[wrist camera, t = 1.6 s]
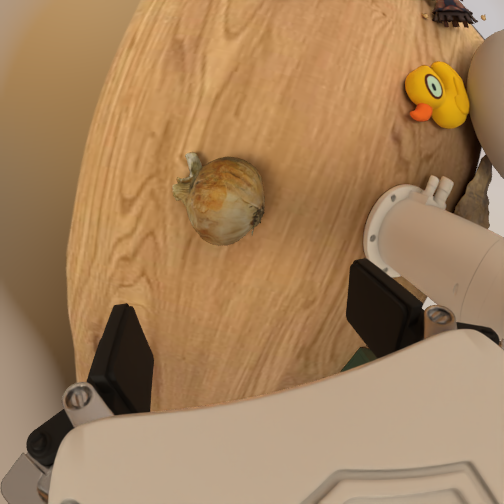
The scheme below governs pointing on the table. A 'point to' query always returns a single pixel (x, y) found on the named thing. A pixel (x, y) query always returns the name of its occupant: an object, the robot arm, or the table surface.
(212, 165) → the onion
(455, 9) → the figurine
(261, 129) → the table surface
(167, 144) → the table surface
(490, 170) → the stone tool
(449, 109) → the duckling
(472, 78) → the sphere
